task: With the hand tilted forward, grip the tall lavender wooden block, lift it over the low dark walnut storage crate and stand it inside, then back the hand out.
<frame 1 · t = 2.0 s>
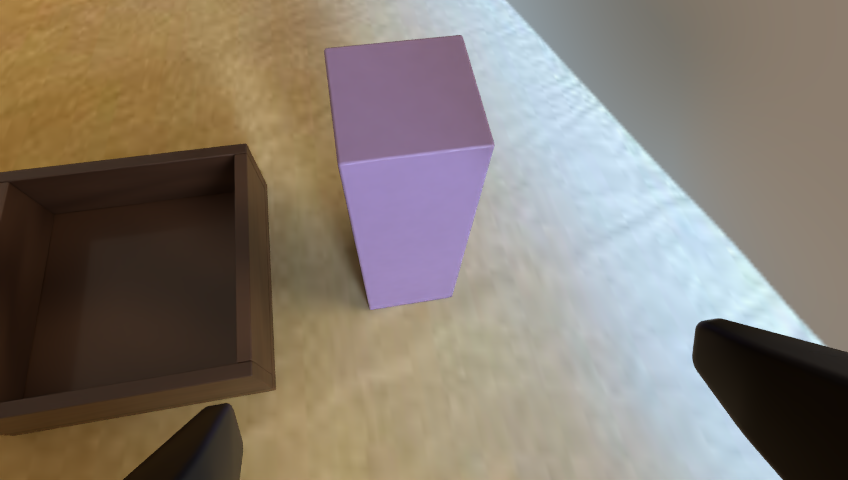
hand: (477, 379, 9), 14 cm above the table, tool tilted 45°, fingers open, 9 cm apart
block: (404, 265, 25), on the table
crate: (156, 294, 23), on the table
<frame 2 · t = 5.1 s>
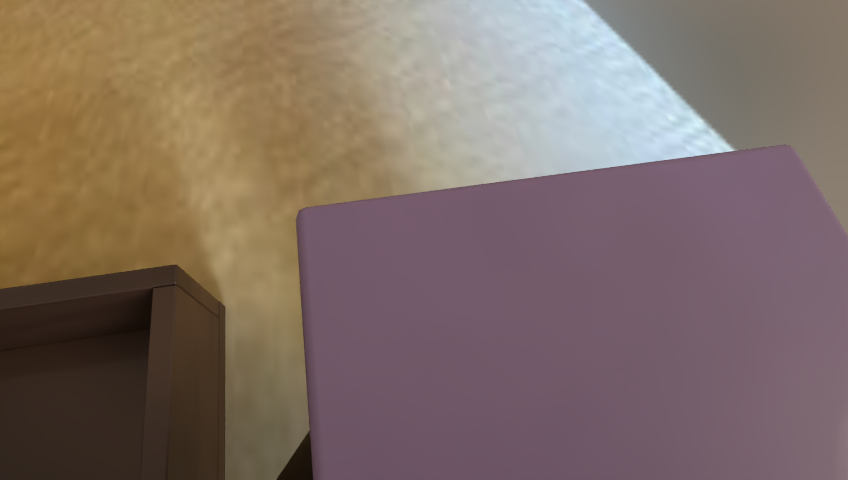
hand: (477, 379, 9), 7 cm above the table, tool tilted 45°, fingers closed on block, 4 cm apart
block: (456, 461, 14), on the table, touching gripper
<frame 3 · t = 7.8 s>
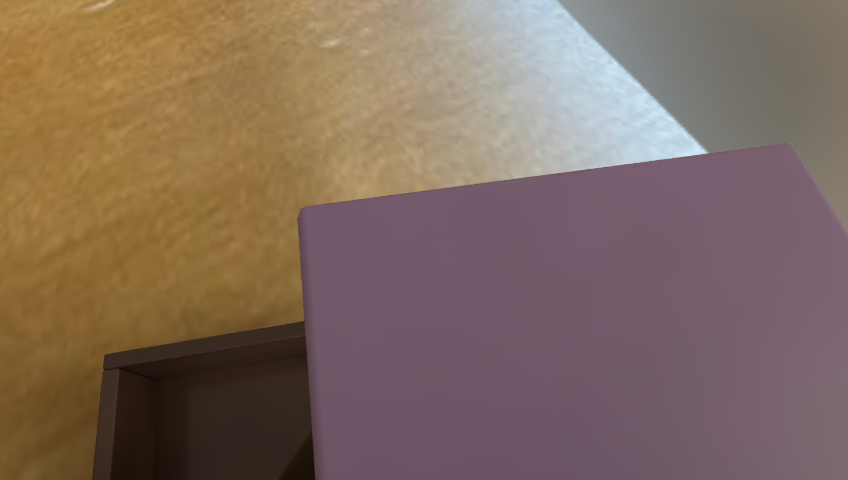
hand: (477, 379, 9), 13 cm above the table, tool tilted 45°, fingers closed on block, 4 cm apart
block: (457, 460, 14), point 6 cm above the table, touching gripper
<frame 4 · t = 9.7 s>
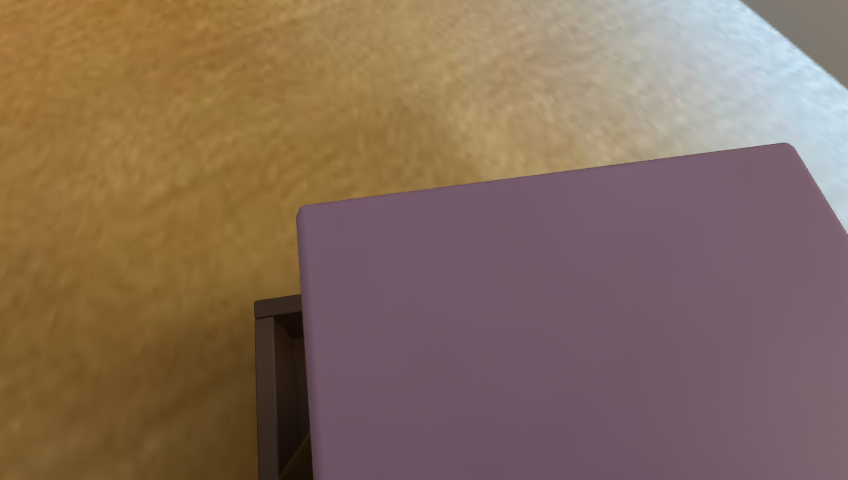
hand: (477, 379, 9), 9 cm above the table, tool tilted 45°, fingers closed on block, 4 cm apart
block: (456, 460, 14), point 3 cm above the table, touching gripper
crate: (447, 457, 17), on the table
when the fingers open (7 cm above the table, at t = 10.7 s): block stays where it is, resting on crate.
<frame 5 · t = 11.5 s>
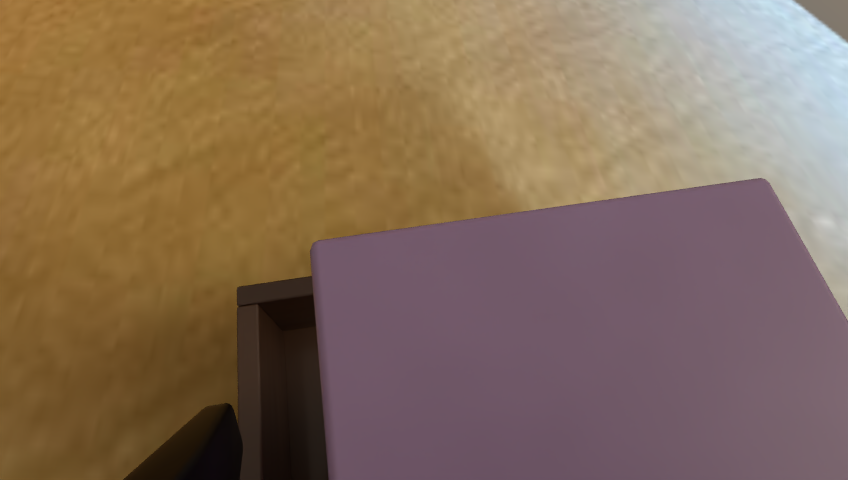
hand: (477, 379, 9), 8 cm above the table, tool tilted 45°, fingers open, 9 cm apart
block: (456, 464, 15), point 1 cm above the table, touching crate
crate: (454, 462, 15), on the table
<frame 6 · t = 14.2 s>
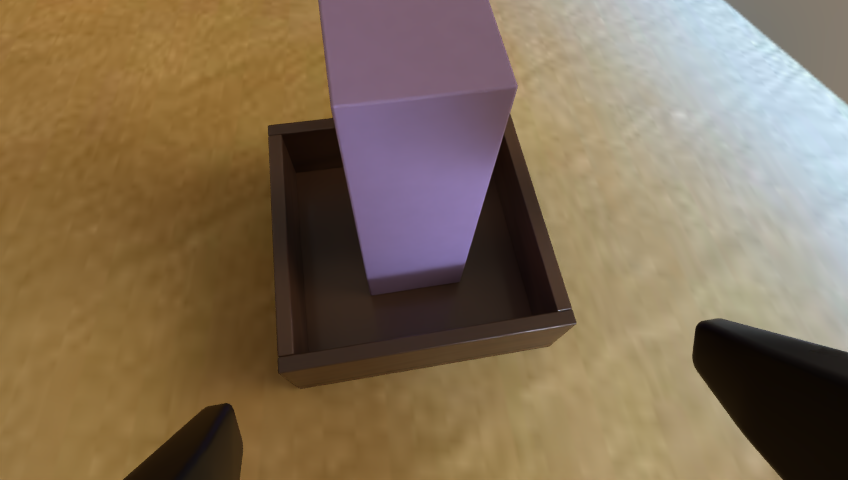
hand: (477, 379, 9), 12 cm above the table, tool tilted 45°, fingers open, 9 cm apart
block: (408, 248, 23), point 1 cm above the table, touching crate
crate: (408, 252, 23), on the table
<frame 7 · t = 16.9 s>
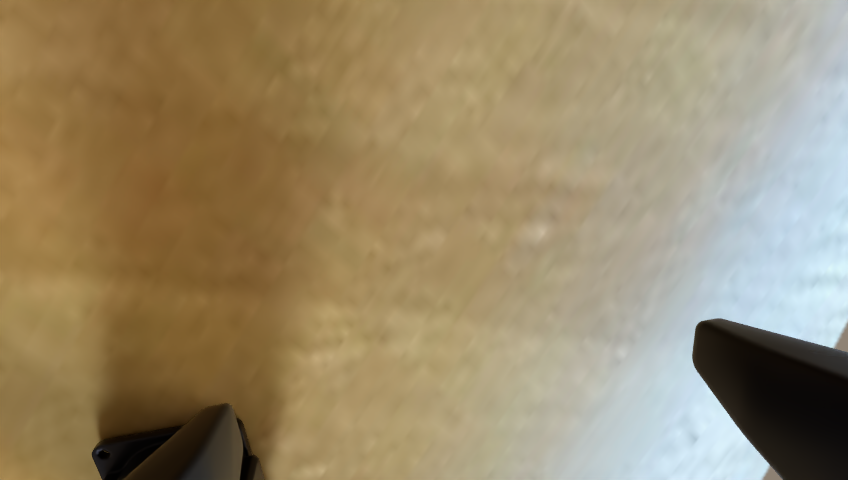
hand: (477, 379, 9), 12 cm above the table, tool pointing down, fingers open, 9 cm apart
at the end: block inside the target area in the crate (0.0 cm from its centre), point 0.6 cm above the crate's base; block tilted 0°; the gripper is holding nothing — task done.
